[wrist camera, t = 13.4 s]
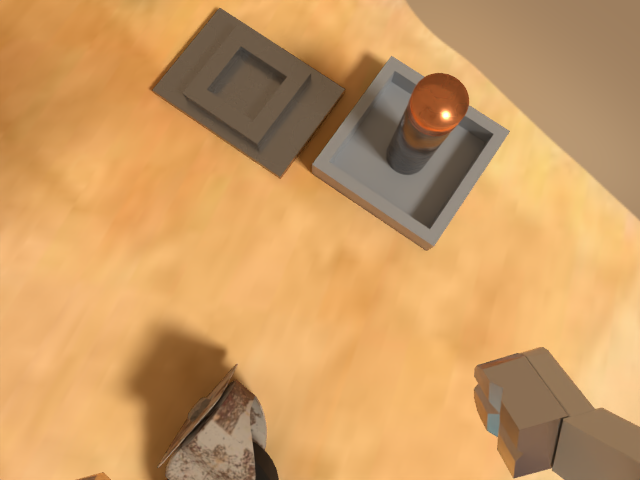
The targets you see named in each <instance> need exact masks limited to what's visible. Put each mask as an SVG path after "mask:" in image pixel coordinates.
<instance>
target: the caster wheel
mask: <svg viewBox="0 0 640 480" xmlns="http://www.w3.org/2000/svg"><path fill="white" fill-rule="evenodd" d="M237 365H238V364H236V365H235V366H234V367H233V368H232V369H231V370H230V372H229V373H228V374H227V375H226V376H225V377H224V378H223V380H222V381H221V382H220V383H219V384H218V385H217V386H216V387H215V389H214V390H213V391H212V392H211V393H210V394H209V395H208V397H207V398H206V397H204V398H201V399H200V400H199V401H198V402H197V403H196V404H195V406H194V407H193V408H192V409H191V411H190V412H189V414H188V419H187V420H186V422H185V423H184V425H183V426H182V428H181V429H180V431H179V433H178V434H177V436H176V437H175V439H174V441H173V442H172V444H171V445H170V447H169V449H168V450H167V452H166V454H165V455H164V457H163V458H162V460H161V462H160V463H159V465H158V467H160V466H161V465H162V464H163V462H164V461H165V460H166V459H167V458H168V457H169V456H170V454H171V453H172V452H173V451H174V450H175V449H176V448H177V449H176V450H175V451H174V453H173V454H172V456H171V457H170V459H169V461H168V464H167V466H166V473H165V476H166V477H167V478H168V479H167V480H279V478H278V474H277V470H276V467H275V465H274V463H273V461H272V459H271V458H270V457H269V455H268V454H267V453H266V452H265V447H266V438H267V427H266V420H265V415H264V412H263V409H262V407H261V404H260V402H259V400H258V399H257V397H256V396H255V395H254V394H253V393H251V392H250V391H249V390H248V389H247V388H245V387H244V386H243V385H242V384H241V383H239V382H238V381H237V380H234V381H233V382H231V383H230V384H229V385H228V386H227V384H228V382H229V380H230V378H231V376H232V374H233V373H234V371H235V369H236V367H237ZM226 386H227V387H226ZM178 445H179V446H178ZM158 467H157V468H158Z"/></svg>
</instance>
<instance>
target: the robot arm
mask: <svg viewBox="0 0 640 480" xmlns="http://www.w3.org/2000/svg"><path fill="white" fill-rule="evenodd" d="M474 377H475V378H476V380H477V382H478V385H477V386H476V387H475V388H474V399H475V403H476V407H477V411H478V413H479V416H480V418H481V420H482V422H483V424H484V426H485V428H486V430H487V431H489V432H490V433H492V434H493V435H495V436H497V437H498V445H497V450H498V452H499V453H500V455H501V457H502V459H503V461H504V463H505V464H506V466H507V468H508V470H509V472H510V473H511V475H512V477H513V478H517V477H521V476H525V475H528V474H532V473H536V472H539V471H543V470H547V469H551V468H552V471H554V472H555V473H556V474H558V475H559V476H560V477H562V478H563V479H564V480H640V427H639V426H637V425H635V424H633V423H631V422H629V421H627V420H625V419H623V418H621V417H619V416H617V415H615V414H613V413H612V412H610V411H608V410H606V409H604V408H598V409H594V407H593V406H592V405H591V404H590V402H589V401H588V400H587V399H586V397H585V396H584V395H583V394H582V392H581V391H580V390H579V388H578V387H577V386H576V385H575V383H574V382H573V381H572V380H571V378H570V377H569V376H568V375H567V373H566V372H565V371H564V370H563V368H562V367H561V366H560V365H559V363H558V362H557V361H556V360H555V358H554V357H553V356H552V355H551V353H550V352H549V351H548V350H547V349H545V348H543V347H539V348H535V349H532V350H529V351H526V352H522V353H516V354H513V355H510V356H506V357H503V358H500V359H497V360H493V361H490V362H487V363H483V364H480V365H477V366H476V367H475V372H474ZM77 480H111V479H110V478H109V477H108V476H107V475H106V474H105V473H104V472H102V473H98V474H95V475H91V476H88V477H84V478H80V479H77Z"/></svg>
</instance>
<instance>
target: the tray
mask: <svg viewBox="0 0 640 480" xmlns="http://www.w3.org/2000/svg"><path fill="white" fill-rule="evenodd" d="M423 78H424V76H422V75H421V74H419V73H418V72H416V71H414V70H413V69H411V68H410V67H408V66H407V65H405V64H403V63H402V62H400V61H399V60H397V59H396V58H394V57H392V56H391V57H390V59H389V60H388V61H387V63H386V64H385V65H384V67H383V68H382V70H381V71H380V72H379V74H378V75H377V76H376V78H375V79H374V80H373V82H372V83H371V85H370V86H369V87H368V89H367V90H366V91H365V93H364V94H363V96H362V97H361V98H360V100H359V101H358V102H357V104H356V105H355V106H354V108H353V109H352V111H351V112H350V113H349V115H348V116H347V117H346V119H345V120H344V122H343V123H342V124H341V126H340V127H339V128H338V130H337V131H336V132H335V134H334V135H333V137H332V138H331V139H330V141H329V142H328V143H327V145H326V146H325V147H324V149H323V150H322V152H321V153H320V154H319V156H318V157H317V158H316V160H315V161H314V163H313V164H312V174H313V175H315V176H316V177H318V178H319V179H321V180H322V181H324V182H325V183H327V184H328V185H330V186H331V187H333V188H334V189H336V190H337V191H338V192H340V193H341V194H343V195H344V196H346V197H347V198H349V199H350V200H352V201H353V202H355V203H356V204H358V205H359V206H361V207H362V208H364V209H365V210H367V211H368V212H370V213H371V214H373V215H374V216H376V217H377V218H379V219H380V220H381V221H383V222H384V223H386V224H387V225H389V226H390V227H392V228H393V229H395V230H396V231H398V232H399V233H401V234H402V235H404V236H405V237H407V238H408V239H410V240H411V241H413V242H414V243H416V244H417V245H419V246H420V247H421V248H423V249H424V250H426V251H427V250H429V249H430V248H432V247H434V245H435V244H436V242H437V241H438V239H439V238H440V236H441V235H442V233H443V232H444V230H445V229H446V227H447V226H448V224H449V223H450V221H451V220H452V218H453V217H454V215H455V214H456V212H457V211H458V209H459V208H460V206H461V205H462V203H463V202H464V200H465V199H466V197H467V196H468V194H469V192H470V191H471V189H472V188H473V186H474V185H475V183H476V182H477V180H478V179H479V177H480V176H481V174H482V173H483V171H484V170H485V168H486V167H487V165H488V164H489V162H490V161H491V159H492V158H493V156H494V155H495V153H496V152H497V150H498V149H499V147H500V146H501V144H502V143H503V141H504V140H505V138H506V137H507V135H508V134H509V132H510V131H509V130H507V129H505V128H504V127H502V126H501V125H499V124H498V123H496V122H495V121H493V120H491V119H490V118H488V117H487V116H485V115H484V114H482V113H480V112H479V111H477V110H476V109H474V108H473V107H471V106H469V107H468V110H467V113H466V114H465V116H464V117H463V119H462V120H461V121H460V122H459V124H458V125H457V126H456V127H455V128H454V129H453V130H452V131H451V133H450V134H449V135H448V137H447V138H446V139H445V140H444V142H443V143H442V144H441V145H440V147H439V148H438V149H437V151H436V152H435V153H434V154H433V156H432V157H431V158H430V160H429V161H428V162H427V163H426V165H425V166H424V167H423V168H422V169H421V170H420V171H419V172H417V173H415V174H412V175H403V174H400V173H398V172H396V171H394V170H393V169H392V168H391V166H390V165H389V163H388V161H387V156H386V153H387V148H388V146H389V144H390V142H391V139H392V137H393V135H394V133H395V131H396V129H397V127H398V124H399V122H400V120H401V118H402V116H403V114H404V111H405V109H406V107H407V105H408V101H409V99H410V97H411V95H412V93H413V90H414V88H415V86H416V85H417V83H418V82H419V81H420V80H421V79H423Z"/></svg>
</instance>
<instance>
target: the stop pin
mask: <svg viewBox="0 0 640 480" xmlns="http://www.w3.org/2000/svg"><path fill="white" fill-rule="evenodd" d="M468 107H469V96H468V93H467V90H466V88H465V87H464V85H463V84H462V83H461V82H460V81H459V80H458V79H456V78H455V77H453V76H451V75H448V74H443V73H435V74H431V75H428V76H426V77H424V78H423V79H421V80H420V81H419V82H418V83H417V85H416V86H415V88H414V90H413V93H412V95H411V97H410V99H409V101H408V105H407V107H406V109H405V111H404V114H403V116H402V118H401V120H400V122H399V124H398V127H397V129H396V131H395V133H394V135H393V137H392V139H391V142H390V144H389V146H388V148H387V153H386V156H387V161H388V163H389V165H390V166H391V168H392V169H393V170H394V171H396V172H398V173H400V174H403V175H412V174H415V173H417V172H419V171H420V170H421V169H422V168H423V167H424V166H425V165H426V163H427V162H428V161H429V160H430V158H431V157H432V156H433V154H434V153H435V152H436V151H437V149H438V148H439V147H440V145H441V144H442V143H443V142H444V140H445V139H446V138H447V137H448V135H449V134H450V133H451V131H452V130H453V129H454V128H455V127H456V126H457V125H458V124H459V122H460V121H461V120H462V119H463V117H464V116H465V114H466V113H467V110H468Z"/></svg>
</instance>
